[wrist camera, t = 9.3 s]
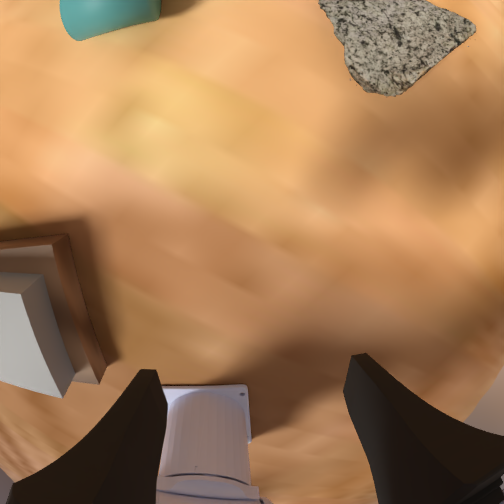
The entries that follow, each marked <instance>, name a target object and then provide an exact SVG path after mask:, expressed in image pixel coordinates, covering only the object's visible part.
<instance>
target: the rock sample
mask: <svg viewBox="0 0 504 504" xmlns="http://www.w3.org/2000/svg"><path fill="white" fill-rule="evenodd" d="M318 4H319V5H320V8H321V9H323V10H324V11H325V12H326V14H327V17H328V18H329V19H330V20H331V22H332V24H333V26H334V34H335V36H336V37H337V38H338V40H339V41H340V42H341V43H342V44H343V45H344V49H345V53H344V56H345V64H346V66H347V68H348V70H349V73H350V74H351V76H352V77H353V79H354V80H355V81H356V82H357V83H358V84H359V85H360V86H362V87H363V90H364V91H366V92H368V93H378V94H382V95H384V96H394V97H395V96H396V95H400V94H402V93H403V92H404V91H406V90H407V89H408V88H409V87H412V86H413V84H414V83H415V82H416V81H417V80H419V79H420V78H421V77H422V76H423V75H425V74H426V73H427V72H428V71H429V70H430V69H431V68H432V67H433V66H435V65H436V64H437V63H438V62H439V61H440V60H442V59H443V58H444V57H445V56H447V55H448V54H449V53H450V52H452V51H453V50H454V49H455V48H456V47H458V46H459V45H461V44H462V43H463V42H465V41H466V40H467V39H468V38H469V37H470V36H472V35H473V34H474V33H475V32H476V26H475V25H474V24H473V23H472V22H471V21H470V20H468V19H466V18H463V17H461V16H459V15H458V14H456V13H454V12H451V11H449V10H447V9H443V8H439V7H437V6H435V5H433V4H431V3H430V2H428V1H426V0H319V3H318ZM468 47H469V46H468ZM350 81H351V79H350Z"/></svg>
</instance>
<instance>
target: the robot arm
mask: <svg viewBox="0 0 504 504" xmlns="http://www.w3.org/2000/svg"><path fill="white" fill-rule="evenodd" d="M343 393H344V397H345V401H346V405H347V408H348V412H349V415H350V417H351V420H352V422H353V424H354V427H355V429H356V432H357V434H358V436H359V439H360V441H361V444H362V446H363V449H364V451H365V453H366V456H367V459H368V462H369V464H370V468H371V472H372V476H373V480H374V484H375V488H376V493H377V498H378V503H379V504H504V489H503V490H501V488H500V485H502V483H503V481H502V479H501V476H502V475H503V474H504V436H501V435H497V434H493V433H489V432H486V431H483V430H480V429H477V428H474V427H472V426H469V425H467V424H465V423H463V422H460V421H458V420H456V419H454V418H452V417H450V416H448V415H446V414H444V413H443V412H441V411H439V410H438V409H436V408H434V407H433V406H431V405H430V404H428V403H426V402H425V401H424V400H422V399H421V398H419V397H418V396H417V395H415V394H414V393H413V392H411V391H410V390H409V389H407V388H406V387H405V386H404V385H402V384H401V383H400V382H399V381H397V380H396V379H395V378H394V377H393V376H392V375H390V374H389V373H388V372H387V371H386V370H385V369H384V368H382V367H381V366H380V365H379V364H378V363H377V362H376V361H375V360H373V359H372V358H371V357H370V356H369V355H368V354H367V353H364V354H358V355H352V356H351V360H350V364H349V369H348V373H347V377H346V381H345V385H344V389H343ZM251 441H252V440H251V426H250V413H249V399H248V387H247V386H246V385H244V384H237V385H215V386H161V383H160V380H159V377H158V374H157V371H156V370H150V369H141V370H140V371H139V372H138V373H137V374H136V376H135V377H134V379H133V380H132V381H131V383H130V384H129V385H128V387H127V388H126V389H125V391H124V392H123V393H122V395H121V396H120V397H119V398H118V400H117V401H116V402H115V403H114V405H113V406H112V407H111V408H110V410H109V411H108V412H107V413H106V414H105V416H104V417H103V418H102V419H101V420H100V421H99V422H98V423H97V425H96V426H95V427H94V428H93V429H92V430H91V431H90V432H89V433H88V434H87V435H86V436H85V437H84V438H83V439H82V440H81V441H80V442H78V443H77V444H76V445H75V446H74V447H73V448H71V449H70V450H69V451H68V452H66V453H65V454H64V455H63V456H61V457H60V458H59V459H57V460H56V461H54V462H53V463H51V464H50V465H48V466H47V467H45V468H43V469H42V470H40V471H38V472H36V473H35V474H33V475H31V476H29V477H26V478H24V479H22V480H20V481H18V482H15V483H13V485H12V487H11V490H10V493H9V496H8V499H7V502H6V504H273V503H272V502H271V501H270V500H269V499H268V498H266V497H260V495H259V487H258V486H251V475H250V464H249V453H248V443H250V442H251ZM162 448H163V449H162ZM161 454H162V456H161ZM160 459H161V463H160ZM159 464H160V470H159ZM158 470H159V476H158Z"/></svg>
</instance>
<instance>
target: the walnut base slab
mask: <svg viewBox="0 0 504 504" xmlns="http://www.w3.org/2000/svg"><path fill="white" fill-rule="evenodd" d="M0 272H8V273H27V274H43V275H44V280H45V284H46V287H47V291H48V295H49V299H50V302H51V306H52V309H53V312H54V316H55V319H56V322H57V325H58V328H59V331H60V334H61V337H62V340H63V343H64V345H65V348H66V351H67V354H68V356H69V359H70V361H71V364H72V366H73V369H74V371H75V376H74V378H73V380H72V381H74V382H82V383H90V384H100V381H101V379H102V377H103V375H104V372H105V370H106V368H107V365H106V362H105V360H104V357H103V354H102V352H101V349H100V346H99V344H98V341H97V338H96V335H95V332H94V329H93V326H92V323H91V320H90V317H89V314H88V311H87V308H86V304H85V301H84V298H83V294H82V291H81V287H80V283H79V280H78V276H77V272H76V268H75V264H74V259H73V255H72V250H71V246H70V241H69V236H68V234H60V235H50V236H41V237H33V238H24V239H16V240H8V241H0Z"/></svg>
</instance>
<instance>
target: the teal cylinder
mask: <svg viewBox="0 0 504 504" xmlns="http://www.w3.org/2000/svg"><path fill="white" fill-rule="evenodd" d="M160 12H161V0H60V14H61V19H62V22H63V25H64V27H65V29H66V31H67V32H68V34H69V35H70V36H71V37H72V38H73V39H75V40H77V41H82V40H85V39H88V38H91V37H94V36H97V35H100V34H104V33H107V32H110V31H114V30H118V29H121V28H125V27H129V26H133V25H137V24H142V23H146V22H151V21H156V20H158V19H159V16H160Z"/></svg>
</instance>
